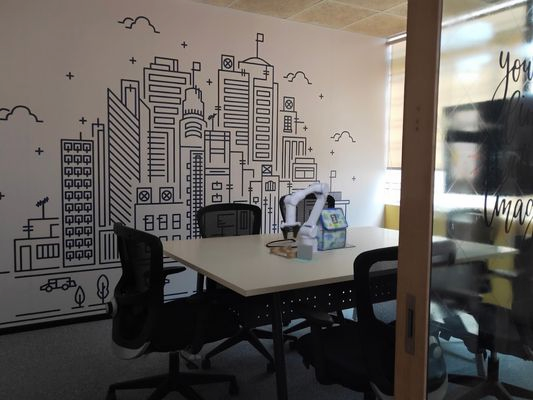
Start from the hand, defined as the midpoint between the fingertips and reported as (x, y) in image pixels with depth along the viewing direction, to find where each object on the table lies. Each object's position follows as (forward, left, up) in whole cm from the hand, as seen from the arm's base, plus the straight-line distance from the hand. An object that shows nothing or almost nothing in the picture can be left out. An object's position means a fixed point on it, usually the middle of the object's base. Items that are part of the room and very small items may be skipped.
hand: (290, 238), depth 260 cm
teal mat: (+2, +16, -10) cm, 19 cm away
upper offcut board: (-3, +1, -9) cm, 10 cm away
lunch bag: (-36, -3, -10) cm, 37 cm away
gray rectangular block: (+3, +15, -9) cm, 18 cm away
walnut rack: (+1, +1, -10) cm, 10 cm away
